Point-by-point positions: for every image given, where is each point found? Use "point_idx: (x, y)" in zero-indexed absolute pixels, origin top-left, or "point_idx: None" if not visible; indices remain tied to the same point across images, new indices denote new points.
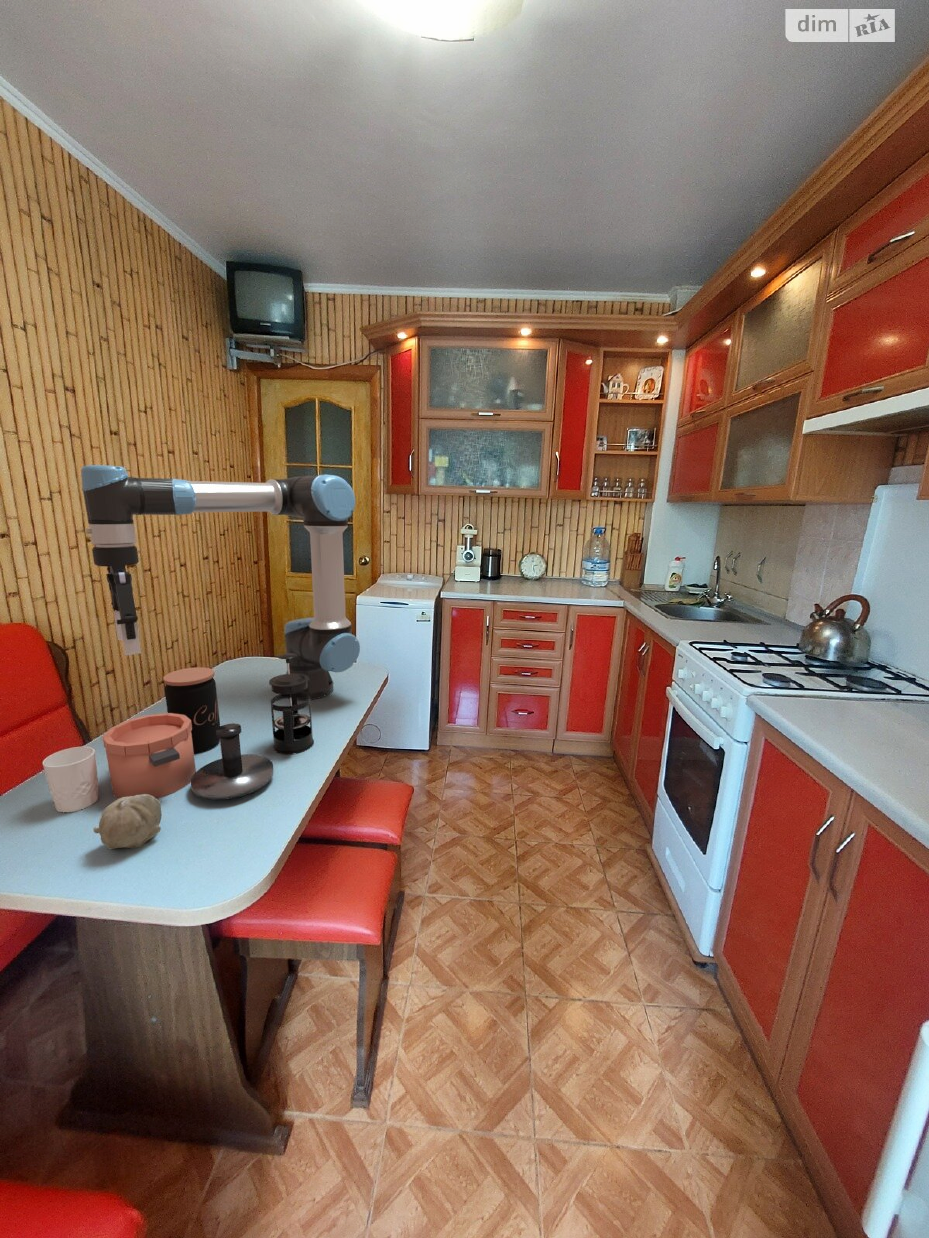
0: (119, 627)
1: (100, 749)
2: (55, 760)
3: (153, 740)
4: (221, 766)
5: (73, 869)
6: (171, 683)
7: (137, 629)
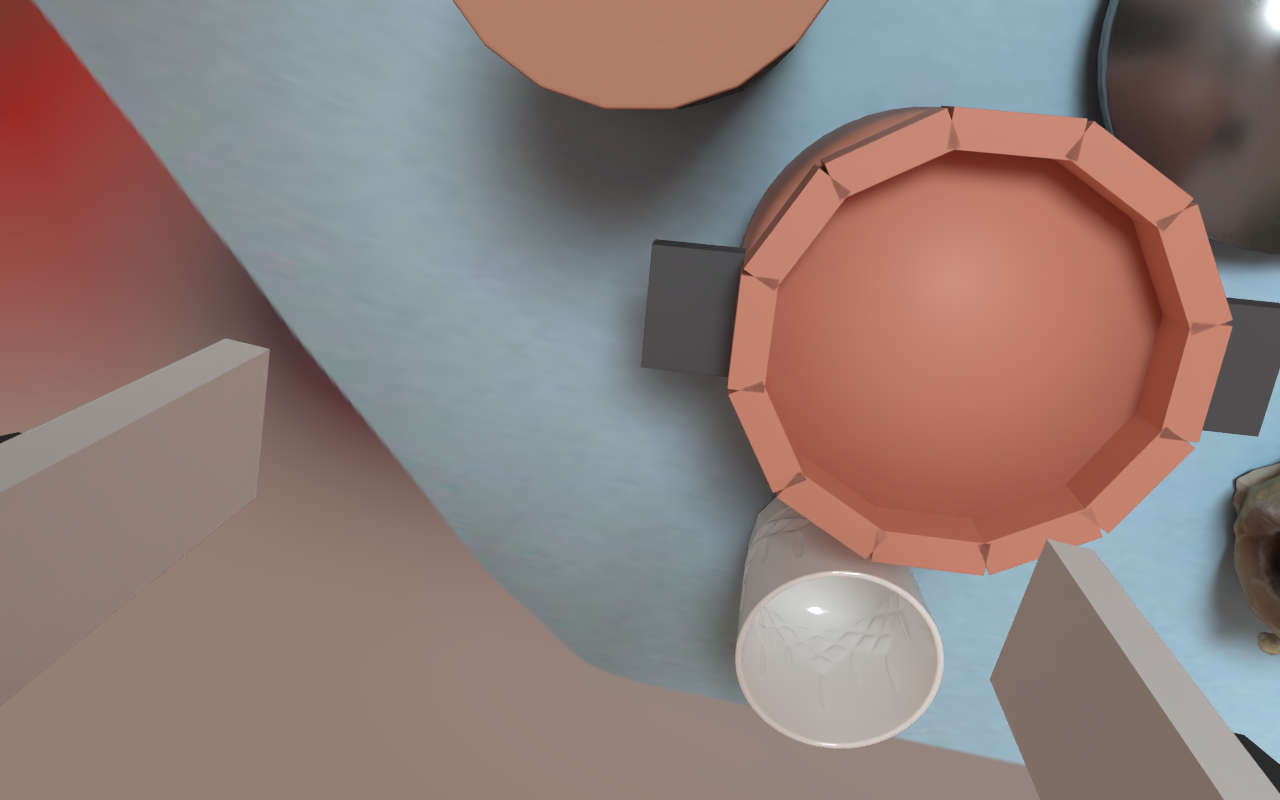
0: (160, 545)
1: (367, 332)
2: (751, 671)
3: (1179, 409)
4: (1206, 50)
5: (1260, 679)
6: (730, 88)
7: (1247, 765)
